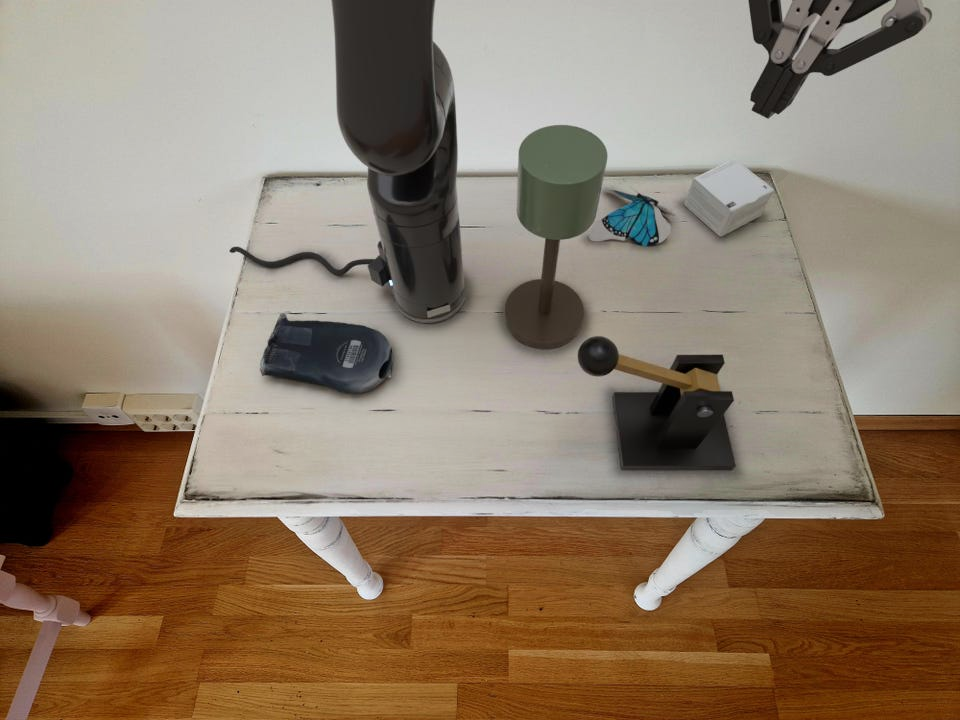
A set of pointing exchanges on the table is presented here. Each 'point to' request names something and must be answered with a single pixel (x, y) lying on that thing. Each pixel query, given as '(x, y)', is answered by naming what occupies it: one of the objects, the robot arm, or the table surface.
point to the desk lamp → (554, 227)
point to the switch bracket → (675, 424)
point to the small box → (728, 197)
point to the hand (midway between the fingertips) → (764, 111)
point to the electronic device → (327, 354)
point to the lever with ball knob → (639, 367)
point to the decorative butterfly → (634, 221)
